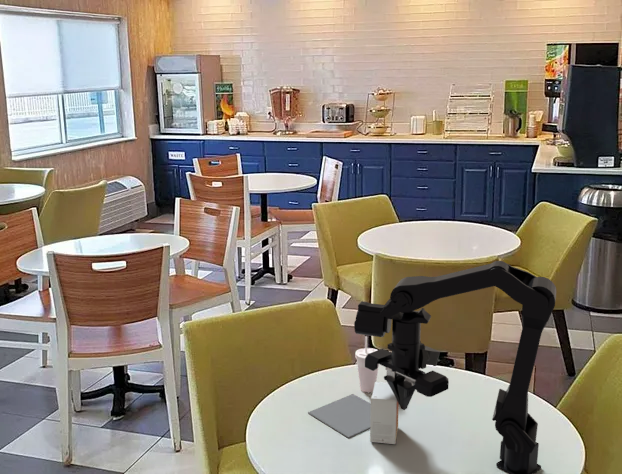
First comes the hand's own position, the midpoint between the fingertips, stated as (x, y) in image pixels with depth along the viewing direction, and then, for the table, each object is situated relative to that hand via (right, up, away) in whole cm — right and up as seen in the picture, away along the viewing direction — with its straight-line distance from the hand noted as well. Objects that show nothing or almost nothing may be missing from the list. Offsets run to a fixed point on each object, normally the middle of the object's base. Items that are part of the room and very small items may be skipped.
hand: (404, 409), depth 145 cm
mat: (-10, -5, +15) cm, 19 cm away
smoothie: (-5, -2, +28) cm, 28 cm away
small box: (-3, -7, +7) cm, 10 cm away
